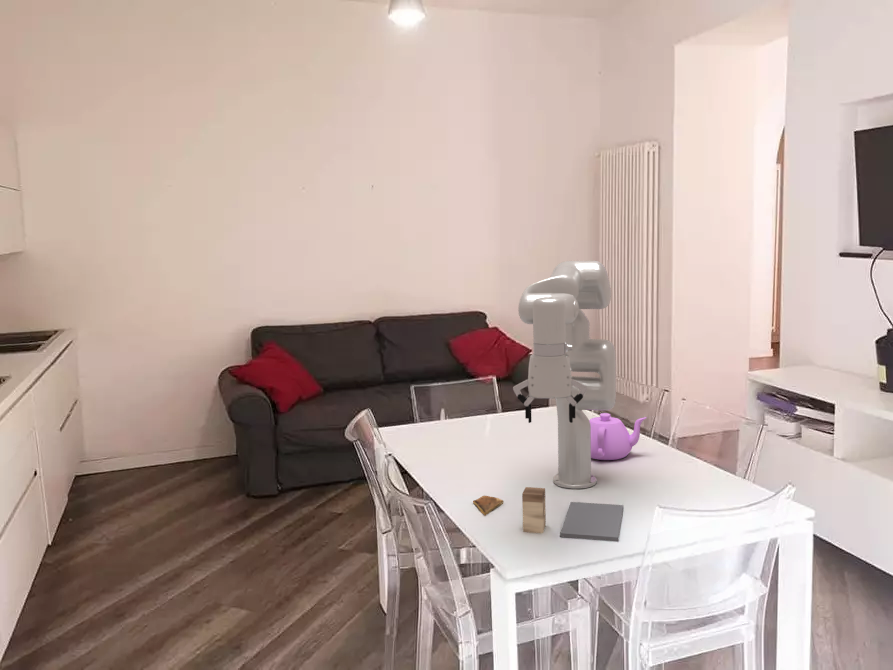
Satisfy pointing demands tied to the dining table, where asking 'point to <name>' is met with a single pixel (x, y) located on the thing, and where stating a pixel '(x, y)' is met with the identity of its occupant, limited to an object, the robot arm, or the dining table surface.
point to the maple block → (534, 510)
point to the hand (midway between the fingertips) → (550, 421)
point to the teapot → (612, 437)
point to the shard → (487, 504)
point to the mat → (592, 521)
